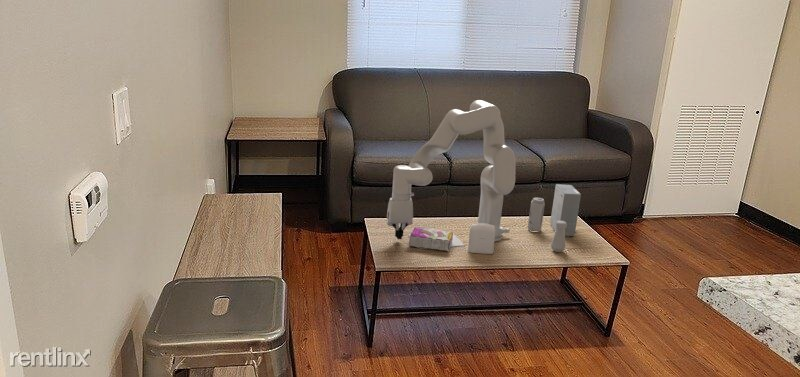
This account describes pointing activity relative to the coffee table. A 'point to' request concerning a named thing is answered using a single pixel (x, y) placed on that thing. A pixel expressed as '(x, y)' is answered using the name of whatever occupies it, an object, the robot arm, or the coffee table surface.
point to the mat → (454, 242)
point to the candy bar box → (431, 239)
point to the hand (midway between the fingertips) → (398, 238)
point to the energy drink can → (536, 214)
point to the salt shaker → (559, 237)
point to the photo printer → (481, 238)
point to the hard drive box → (565, 207)
